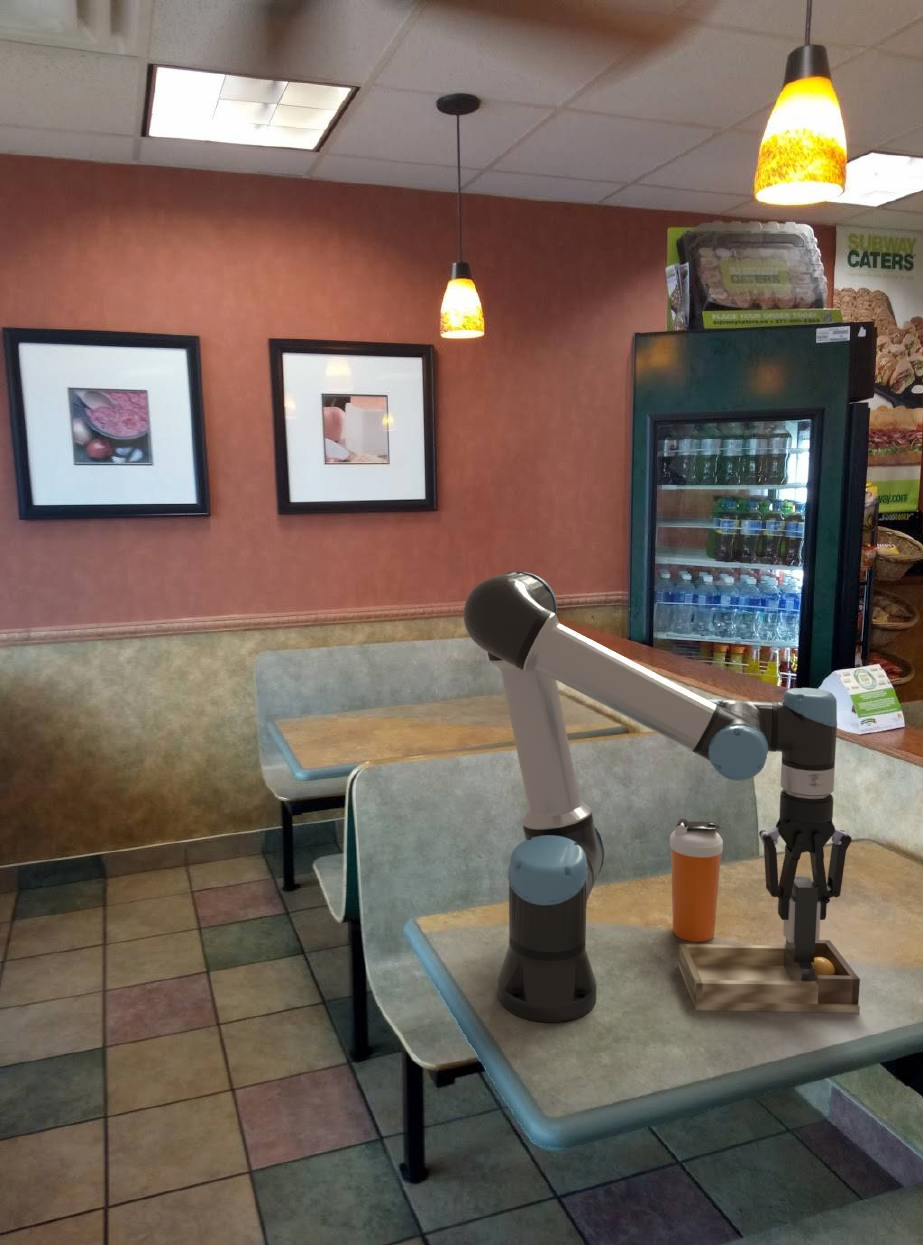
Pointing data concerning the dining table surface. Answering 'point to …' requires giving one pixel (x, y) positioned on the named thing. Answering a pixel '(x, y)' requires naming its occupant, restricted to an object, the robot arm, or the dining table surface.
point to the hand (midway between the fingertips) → (800, 938)
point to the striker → (802, 931)
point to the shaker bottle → (695, 878)
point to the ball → (823, 967)
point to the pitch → (764, 980)
